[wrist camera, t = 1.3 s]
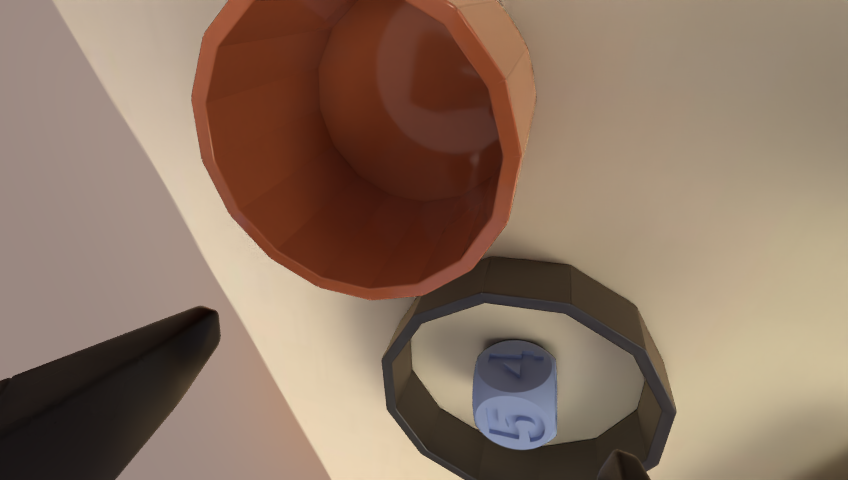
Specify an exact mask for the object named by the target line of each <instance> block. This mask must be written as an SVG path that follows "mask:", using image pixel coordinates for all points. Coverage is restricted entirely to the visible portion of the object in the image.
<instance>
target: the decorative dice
mask: <svg viewBox="0 0 848 480" xmlns="http://www.w3.org/2000/svg"><path fill="white" fill-rule="evenodd" d="M473 415H474V421H475V424H476V426H477V427H478V429H479V430H480V431H481V432H482V433H483V434H484V435H485V436H486V437H487V438H489V439H490V440H491V441H493V442H495V443H497V444H499V445H501V446H504V447H507V448H511V449H518V450H527V449H533V448H537V447H540V446H542V445H544V444H546V443H548V442H549V441H551V440H552V439H553V438H554V437H555V436H556V435H557V373H556V359H555V358H554V357H553V356H552V355H551V354H550V353H549V352H547V351H546V350H545V349H543V348H541V347H539V346H538V345H535V344H533V343H530V342H526V341H520V340H509V341H503V342H499V343H496V344H494V345H492V346H490V347H489V348H487V349H486V350H484V351H483V352H482V353H481V354H480V355H479V356H478V358H477V361H476V365H475V370H474V378H473Z"/></svg>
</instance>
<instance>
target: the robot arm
mask: <svg viewBox="0 0 848 480" xmlns="http://www.w3.org/2000/svg"><path fill="white" fill-rule="evenodd" d="M220 336H221V335H220V324H219V315H218V313H217V311H216V310H213V309H210V308H208V307H204V306H197V307H194V308H192V309H189V310H186V311H184V312H181V313H178V314H176V315H173V316H170V317H168V318H165V319H162V320H160V321H157V322H154V323H152V324H149V325H147V326H144V327H141V328H139V329H136V330H133V331H131V332H128V333H125V334H123V335H120V336H117V337H115V338H112V339H110V340H107V341H104V342H102V343H99V344H96V345H94V346H91V347H88V348H86V349H83V350H81V351H78V352H75V353H73V354H70V355H67V356H65V357H62V358H60V359H57V360H54V361H52V362H49V363H46V364H44V365H41V366H39V367H36V368H33V369H30V370H28V371H25V372H22V373H20V374H17V375H15V376H13V377H12V378H7V379H4V380H1V381H0V480H115V479H116V478H117V477H118V476H119V475H120V473H121V472H122V471H123V470H124V468H125V467H126V466H127V465H128V463H129V462H130V461H131V460H132V459H133V458H134V456H135V455H136V454H137V453H138V452H139V450H140V449H141V448H142V447H143V445H144V444H145V443H146V442H147V441H148V439H149V438H150V437H151V436H152V435H153V434H154V432H155V431H156V430H157V429H158V427H159V426H160V425H161V424H162V423H163V422H164V420H165V419H166V418H167V417H168V416H169V414H170V413H171V412H172V411H173V409H174V408H175V407H176V406H177V404H178V403H179V402H180V400H181V399H182V398H183V396H184V395H185V393H186V392H187V390H188V389H189V388H190V386H191V385H192V383H193V382H194V380H195V379H196V377H197V376H198V374H199V373H200V371H201V369H202V368H203V367H204V365H205V364H206V362H207V361H208V359H209V358H210V356H211V355H212V353H213V352H214V351H215V349H216V348H217V346H218V344H219V341H220ZM597 480H651V479H650V478H649V476H648V474H647V473H646V471H645V469H644V467H643V466H642V464H641V462H640V461H639V459H638V458H637V457H636V456H635V455H633V454H630V453H627V452H624V451H621V450H618V449H616V450H614V451H613V452H612V453H611V454H610V456H609V457H608V459H607V460H606V462H605V463H604V465H603V466H602V468H601V469H600V471H599V473H598V476H597Z"/></svg>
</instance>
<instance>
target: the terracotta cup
mask: <svg viewBox="0 0 848 480" xmlns="http://www.w3.org/2000/svg"><path fill="white" fill-rule="evenodd" d="M191 97H192V99H191V101H192V106H193V112H194V118H195V124H196V130H197V135H198V141H199V147H200V153H201V158H202V161H203V164H204V166H205V167H206V169H207V171H208V173H209V175H210V177H211V179H212V181H213V183H214V185H215V187H216V189H217V191H218V193H219V195H220V197H221V199H222V201H223V203H224V205H225V207H226V208H227V210H228V212H229V214H231V217H232V218H233V219H234V220H235V221H236V222H237V223H238V224H239V225H240V226H241V227H242V228H243V230H244V231H245V232H246V233H247V234H248V235H249V236H250V237H251V238H252V239H253V240H254V241H255V242H256V243H257V245H258V246H259V247H260V248H261V249H262V250H263V251H264V252H265V253H266V254H267V255H268V256H269V257H271V259H273V260H274V261H276V262H277V263H279V264H281V265H282V266H284V267H286V268H287V269H289V270H291V271H292V272H294V273H296V274H297V275H299V276H301V277H302V278H304V279H306V280H307V281H309V282H310V283H312V284H314V285H315V286H317V287H318V286H319V287H320V288H323V289H327V290H331V291H335V292H339V293H343V294H347V295H351V296H355V297H359V298H363V299H367V300H381V299H392V298H403V297H413V296H423V295H426V294H428V293H429V292H431V291H433V290H435V289H437V288H439V287H441V286H443V285H445V284H446V283H448V282H450V281H452V280H454V279H456V278H458V277H460V276H462V275H463V274H465V273H467V272H469V271H471V270H472V269H473V268H474V267H475V266H476V264H477V263H478V262H479V260H480V259H481V258H482V256H483V255H484V254H485V253H486V251H487V250H488V249H489V247H490V246H491V245H492V243H493V242H494V241H495V239H496V238H497V237H498V235H499V234H500V233H501V231H502V230H503V229H504V228H505V226H506V225H507V222H508V221H509V217H510V213H511V209H512V205H513V200H514V196H515V192H516V188H517V184H518V179H519V175H520V171H521V167H522V163H523V159H524V154H525V150H526V146H527V141H528V137H529V132H530V128H531V123H532V119H533V114H534V109H535V105H536V91H535V83H534V74H533V68H532V64H531V60H530V56H529V53H528V48H527V45H526V44H525V42H524V40H523V38H522V36H521V34H520V32H519V31H518V29H517V27H516V25H515V24H514V22H513V21H512V19H511V18H510V17H509V15H508V14H507V13H506V11H505V10H504V9H503V8H502V7H501V5H500V4H499V2H498V1H496V0H228V2H227V3H226V4H225V6H224V7H223V8H222V10H221V11H220V13H219V14H218V15H217V17H216V18H215V19H214V21H213V22H212V23H211V25H210V26H209V27H208V29H207V30H206V32H205V33H204V36H203V38H202V43H201V48H200V54H199V59H198V64H197V69H196V74H195V80H194V85H193V90H192V95H191Z"/></svg>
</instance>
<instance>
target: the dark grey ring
mask: <svg viewBox="0 0 848 480" xmlns="http://www.w3.org/2000/svg"><path fill="white" fill-rule="evenodd" d="M483 303H490V304H497V305H505V306H512V307H520V308H527V309H535V310H542V311H550V312H557V313H565V314H567V315H568V316H570V317H572V318H573V319H575V320H577V321H578V322H580V323H581V324H583V325H585V326H586V327H588V328H590V329H591V330H593V331H594V332H596V333H598V334H599V335H601V336H603V337H604V338H606V339H608V340H609V341H611V342H612V343H614V344H616V345H617V346H619V347H621V348H622V349H624V350H625V351H627V352H629V353H630V354H632V355H633V356H634V358H635V360H636V362H637V364H638V366H639V368H640V370H641V372H642V374H643V376H644V378H645V380H646V381H645V384H644V388H643V391H642V395H641V398H640V402H639V405H638V409H637V410H636V411H635V412H634V413H632V414H631V415H629V416H628V417H626V418H625V419H624V420H622V421H621V422H619V423H618V424H617V425H615V426H614V427H612V428H611V429H609V430H608V431H607V432H605V433H604V434H602V435H601V436H600V437H598V438H597V439H593V440H586V441H579V442H573V443H566V444H560V445H553V446H546V447H537V448H533V449H527V450H518V449H511V448H507V447H504V446H501V445H499V444H497V443H495V442H493V441H491V440H490V439H489V438H487V437H486V436H485V435H483V434H482V433H480V432H478V431H477V430H475V429H473V428H472V427H470V426H468V425H467V424H465V423H463V422H462V421H460V420H458V419H457V418H455V417H453V416H452V415H450V414H448V413H447V412H445V411H443V410H442V409H440V408H439V406H438V405H437V403H436V402H435V401H434V399H433V398H432V396H431V395H430V394H429V392H428V391H427V390H426V388H425V387H424V385H423V384H422V383H421V381H420V380H419V378H418V377H417V376H416V374H415V373H414V371H413V370H412V359H411V344H410V339H411V337H412V336H413V335H414V333H415V332H416V331H417V329H418V328H419V327H420V325H421V324H422V323H425V322H428V321H431V320H434V319H437V318H440V317H443V316H446V315H449V314H452V313H455V312H458V311H461V310H464V309H467V308H471V307H474V306H477V305H480V304H483ZM382 369H383V379H384V388H385V397H386V406H387V410H388V412H389V413H390V414H391V416H392V417H393V418H394V419H395V421H396V422H397V423H398V425H399V426H400V427H401V429H402V430H403V431H404V432H405V434H406V435H407V436H408V438H409V439H410V440H411V441H412V443H413V444H414V445H415V447H416V448H417V449H418V451H419V452H420V453H421V454H422V455H424V456H426V457H427V458H429V459H431V460H432V461H434V462H436V463H437V464H439V465H441V466H442V467H444V468H446V469H447V470H449V471H451V472H452V473H454V474H456V475H457V476H459V477H461V478H462V479H464V480H597V476H598V473H599V471H600V469H601V468H602V466H603V465H604V463H605V462H606V460H607V459H608V457H609V456H610V454H611V453H612V452H613V451H614V450H616V449H618V450H621V451H624V452H627V453H630V454H633V455H635V456H636V457H637V458H638V459H639V461H640V462H641V464H642V466H643V467H644V469H645V471H646V472H647V471H648V470H650V469H652V468H653V467H655V466H657V465H658V464H659V461H660V458H661V455H662V452H663V450H664V447H665V444H666V441H667V438H668V435H669V432H670V429H671V426H672V424H673V421H674V418H675V415H676V407H675V403H674V399H673V396H672V392H671V388H670V384H669V381H668V377H667V373H666V369H665V366H664V362H663V360H662V358H661V356H660V354H659V352H658V350H657V348H656V346H655V343H654V341H653V339H652V337H651V335H650V333H649V331H648V329H647V327H646V325H645V323H644V321H643V319H642V317H641V315H640V313H639V311H638V309H637V307H636V306H635V305H634V304H632V303H631V302H629V301H627V300H626V299H624V298H623V297H621V296H619V295H618V294H616V293H614V292H613V291H611V290H610V289H608V288H606V287H605V286H603V285H602V284H600V283H598V282H597V281H595V280H593V279H592V278H590V277H589V276H587V275H585V274H584V273H582V272H581V271H579V270H577V269H576V268H574V267H572V266H571V265H570V266H569V265H565V264H556V263H547V262H537V261H528V260H519V259H509V258H500V257H489V258H486V259H484V260H481V261H479V262H478V263H477V264H476V266H475V267H474V268H473V269H472V270H471V271H469V272H467V273H465V274H463V275H462V276H460V277H458V278H456V279H454V280H452V281H450V282H448V283H446V284H445V285H443V286H441V287H439V288H437V289H435V290H433V291H431V292H429V293H428V294H426V295H423V296H418V297H417V298H416V300H415V301H414V303H413V304H412V305H411V307H410V308H409V310H408V311H407V313H406V314H405V316H404V317H403V318H402V320H401V321H400V323H399V325H398V327H397V329H396V331H395V333H394V335H393V337H392V339H391V341H390V343H389V345H388V347H387V349H386V351H385V353H384V356H383V358H382Z"/></svg>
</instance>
